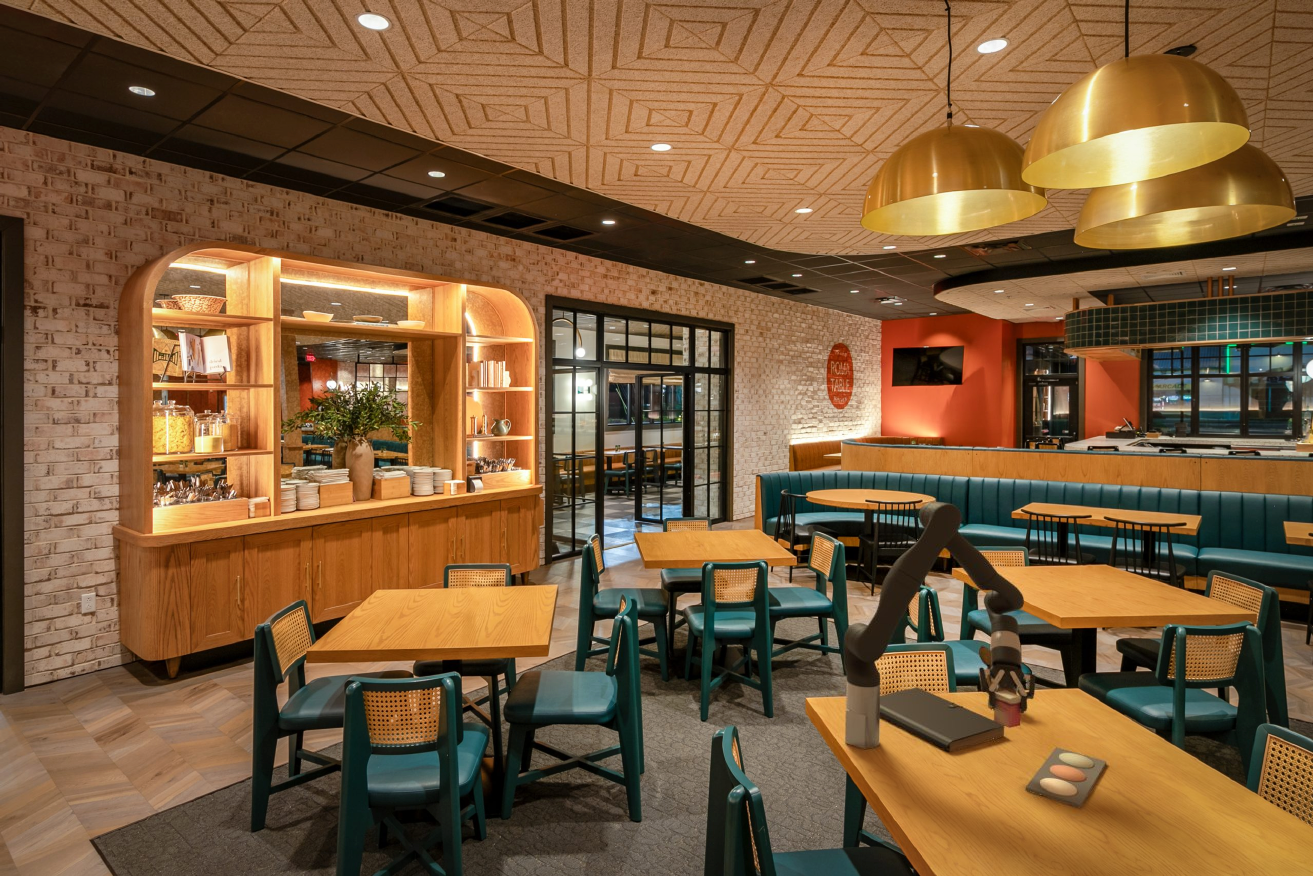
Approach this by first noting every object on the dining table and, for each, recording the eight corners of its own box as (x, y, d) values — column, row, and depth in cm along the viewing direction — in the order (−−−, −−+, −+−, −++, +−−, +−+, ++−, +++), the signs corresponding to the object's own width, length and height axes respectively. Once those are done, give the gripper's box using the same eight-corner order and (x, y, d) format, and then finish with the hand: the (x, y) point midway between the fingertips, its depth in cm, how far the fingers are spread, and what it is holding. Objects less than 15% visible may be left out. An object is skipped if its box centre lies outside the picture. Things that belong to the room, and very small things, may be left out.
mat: (1080, 808, 166) (1080, 803, 166) (1025, 790, 174) (1025, 785, 174) (1106, 764, 188) (1106, 760, 188) (1056, 750, 196) (1056, 746, 196)
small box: (993, 721, 187) (993, 691, 186) (1004, 718, 188) (1005, 689, 188) (1009, 728, 182) (1010, 698, 182) (1021, 726, 184) (1021, 696, 183)
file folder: (1005, 724, 204) (947, 741, 194) (1005, 738, 204) (947, 756, 194) (917, 686, 234) (862, 699, 223) (917, 698, 234) (862, 711, 223)
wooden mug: (989, 696, 235) (990, 643, 235) (1025, 711, 223) (1026, 655, 222) (970, 700, 231) (971, 646, 231) (1006, 716, 219) (1007, 659, 219)
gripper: (977, 641, 194) (978, 698, 184) (1036, 648, 189) (1040, 708, 178) (976, 654, 199) (977, 711, 189) (1033, 661, 194) (1037, 720, 183)
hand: (1008, 709), depth 183 cm, fingers closed on small box, 6 cm apart
